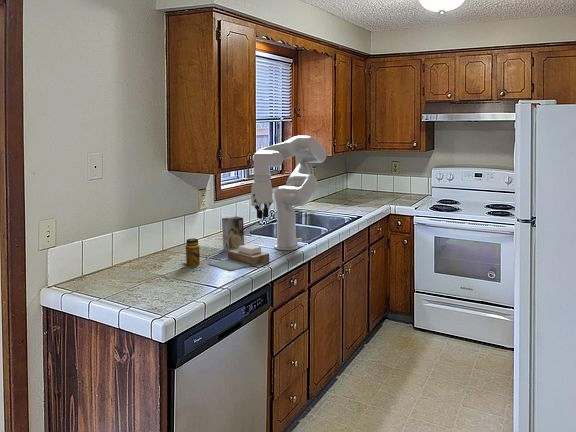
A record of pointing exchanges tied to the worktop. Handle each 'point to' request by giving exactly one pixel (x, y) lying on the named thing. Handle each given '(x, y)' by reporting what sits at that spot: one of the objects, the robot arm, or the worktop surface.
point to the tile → (249, 249)
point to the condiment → (192, 253)
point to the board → (248, 257)
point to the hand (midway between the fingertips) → (262, 217)
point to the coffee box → (232, 233)
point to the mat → (229, 264)
